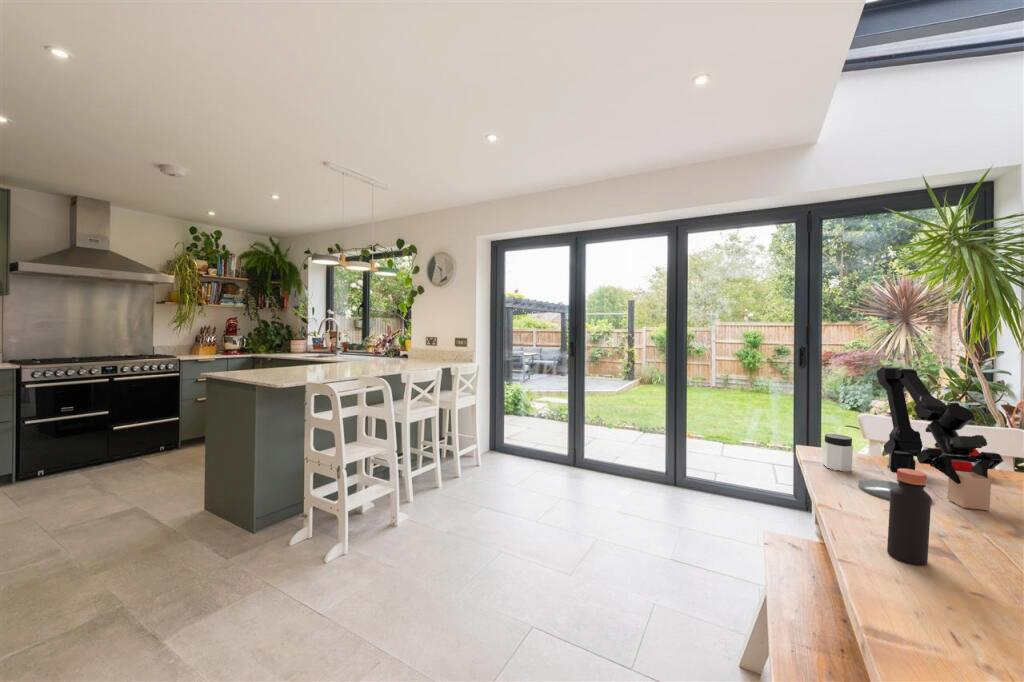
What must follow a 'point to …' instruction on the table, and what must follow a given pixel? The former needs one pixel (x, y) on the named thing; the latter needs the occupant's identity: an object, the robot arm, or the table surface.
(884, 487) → the plate
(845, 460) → the jar
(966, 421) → the robot arm
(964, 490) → the tan rectangular block
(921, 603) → the table surface
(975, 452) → the tomato
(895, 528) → the bottle
